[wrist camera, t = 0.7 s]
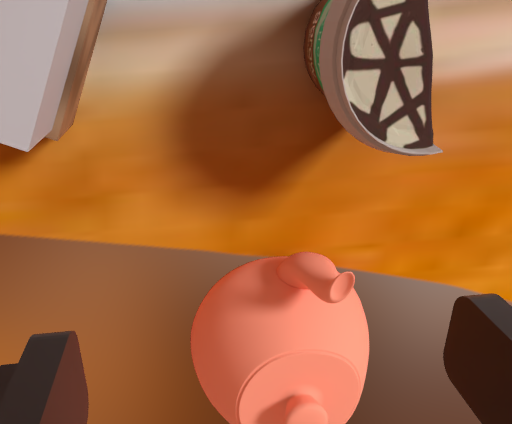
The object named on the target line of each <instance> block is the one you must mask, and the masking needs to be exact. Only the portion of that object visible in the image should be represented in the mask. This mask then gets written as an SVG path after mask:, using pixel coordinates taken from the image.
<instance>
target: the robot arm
mask: <svg viewBox="0 0 512 424" xmlns="http://www.w3.org/2000/svg"><path fill="white" fill-rule="evenodd" d="M443 354H444V356H443V358H444V365H445V369H446V372H447V375H448V377H449V379H450V380H451V382H452V383H453V385H454V386H455V388H456V389H457V390H458V392H459V393H460V394H461V396H462V397H463V399H464V400H465V401H466V403H467V404H468V405H469V407H470V408H471V409H472V411H473V412H474V414H475V415H476V416H477V418H478V419H479V420H480V422H481V423H482V424H512V306H510V305H509V304H508V303H507V302H506V301H505V300H504V299H503V298H501V297H500V296H499V295H497V294H482V295H471V296H462V297H459V298H457V300H456V301H455V303H454V306H453V311H452V316H451V320H450V325H449V329H448V334H447V338H446V343H445V347H444V353H443ZM87 418H88V390H87V384H86V379H85V374H84V369H83V363H82V358H81V353H80V348H79V342H78V338H77V335H76V333H75V331H65V332H54V333H45V334H44V333H43V334H34V335H32V336H31V337H30V339H29V341H28V343H27V345H26V347H25V349H24V352H23V354H22V356H21V358H20V360H19V363H18V364H9V365H1V366H0V424H87Z"/></svg>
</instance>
